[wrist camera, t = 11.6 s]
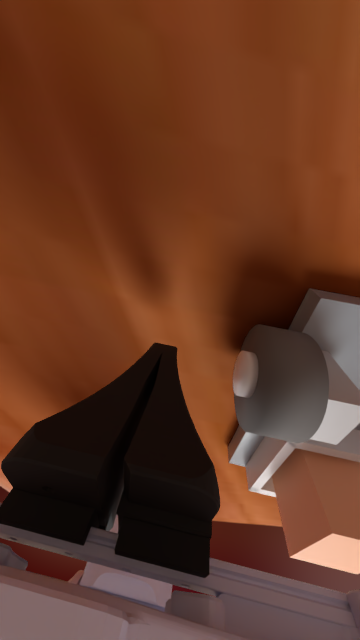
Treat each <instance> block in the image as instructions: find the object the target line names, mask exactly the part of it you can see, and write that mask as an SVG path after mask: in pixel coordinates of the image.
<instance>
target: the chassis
mask: <svg viewBox="0 0 360 640" xmlns="http://www.w3.org/2000/svg"><path fill="white" fill-rule="evenodd" d="M288 330H291V331H297V332H302V333H306V334H308V335H310V336H311V337H312V338H313V339H314V340H315V341H316V342H317V343H318V345H319V346H320V348H321V350H322V352H323V354H324V357H325V360H326V364H327V368H328V375H329V398H328V404H327V409H326V413H325V416H324V418H323V421H322V423H321V425H320V427H319V429H318V430H317V432H316V433H315V434H314V435H313V436H312V437H311V438H310V439H309V440H307V441H305V442H302V443H293V442H288V441H284V440H279V439H275V438H270V437H266V436H261V435H257V434H253V433H248V432H245V431H244V430H243V429H242V428H241V426H240V425H239V426H238V428H237V430H236V432H235V434H234V436H233V438H232V440H231V442H230V444H229V446H228V458H229V463H232V464H236V465H240V466H245V467H246V473H247V481H248V489H249V491H252V492H257V493H261V494H265V495H269V496H273V497H276V494H275V489H274V485H273V480H272V475H273V474H274V473H275V472H276V470H277V469H278V468H279V467H280V466H281V464H282V463H283V462H284V461H285V460H286V459H287V457H288V456H289V455H290V454H291V453H292V452H293V450H294V449H295V448H298V449H303V450H307V451H311V452H316V453H320V454H325V455H329V456H334V457H338V458H343V459H347V460H351V461H356V462H360V298H359V297H354V296H348V295H343V294H337V293H332V292H326V291H321V290H316V289H310V288H309V290H308V292H307V294H306V296H305V298H304V299H303V301H302V303H301V305H300V307H299V309H298V311H297V313H296V315H295V317H294V319H293V321H292V323H291V325H290V327H289V329H288Z"/></svg>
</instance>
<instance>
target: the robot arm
mask: <svg viewBox="0 0 360 640" xmlns="http://www.w3.org/2000/svg"><path fill="white" fill-rule="evenodd" d="M1 469H2V471H3V473H4V475H5V476H6V478H7V479H8V481H9V482H10V483H11V485H12V486H13V489H12V490H11V492H10V493H9V494H8V496H7V497H6V499H5V500H4V501H3V503H0V538H3V539H7V540H10V541H14V542H18V543H21V544H25V545H29V546H32V547H36V548H40V549H43V550H47V551H51V552H55V553H59V554H62V555H66V556H69V557H73V558H77V559H80V560H84V561H88V562H87V564H86V567H85V570H84V571H82V570H80V571H78V572H77V573H76V574H75V576H74V577H73V578H71V579H70V580H69V581H68V582H66V581H63V580H59V579H55V578H52V577H48V576H44V575H40V574H37V573H33V572H29V571H25V569H26V567H27V565H28V563H27V561H26V560H24V559H23V558H21V557H19V556H18V555H16V554H15V553H14V552H13V551H12V550H11V547H10V546H7V545H5V544H2V543H0V640H360V589H357V590H351V591H349V592H348V593H347V594H346V593H342V592H338V591H335V590H331V589H327V588H323V587H319V586H316V585H312V584H308V583H304V582H300V581H297V580H293V579H289V578H285V577H281V576H277V575H274V574H270V573H266V572H262V571H259V570H254V569H251V568H247V567H243V566H239V565H235V564H232V563H228V562H224V561H220V560H217V559H213V558H210V556H209V555H210V538H211V535H212V519H213V518H214V516H215V515H216V514H217V512H218V511H219V508H220V496H219V488H218V482H217V477H216V473H215V469H214V465H213V463H212V461H211V459H210V457H209V456H208V454H207V452H206V450H205V448H204V446H203V444H202V442H201V440H200V438H199V435H198V433H197V431H196V429H195V426H194V424H193V421H192V419H191V417H190V414H189V411H188V409H187V406H186V403H185V399H184V396H183V393H182V389H181V385H180V380H179V375H178V368H177V348H176V347H174V346H169V345H164V344H160V343H154V344H153V345H152V346H151V347H150V349H149V350H148V351H147V352H146V353H145V354H144V355H143V356H142V357H141V358H140V359H139V360H138V361H137V362H136V363H135V364H134V365H132V366H131V367H130V368H129V369H128V370H127V371H125V372H124V373H123V374H122V375H121V376H119V377H118V378H117V379H115V380H114V381H113V382H111V383H110V384H108V385H107V386H105V387H104V388H102V389H101V390H99V391H98V392H96V393H95V394H93V395H91V396H90V397H88V398H86V399H84V400H82V401H81V402H79V403H77V404H75V405H73V406H71V407H69V408H68V409H66V410H64V411H61V412H59V413H57V414H55V415H53V416H51V417H48V418H46V419H44V420H42V421H40V422H37V423H35V424H34V426H33V427H32V428H31V429H30V430H29V431H28V432H27V433H26V434H25V435H24V436H23V437H22V438H21V439H20V440H19V442H18V443H17V444H16V445H15V446H14V448H13V449H12V450H11V451H10V452H9V454H8V455H7V456H6V457H5V459H4V460H3V461H2V464H1ZM172 584H173V585H176V586H180V587H184V588H188V589H191V590H195V591H198V592H202V593H206V594H210V595H213V596H216V597H213V596H209V595H204V594H197V593H190V592H183V591H174V592H173V593H172V595H171V592H172Z"/></svg>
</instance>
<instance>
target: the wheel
mask: <svg viewBox="0 0 360 640" xmlns="http://www.w3.org/2000/svg"><path fill="white" fill-rule="evenodd" d="M233 389H234V401H235V410H236V415H237V419H238V422H239V425H240V426H241V428H242V429H243V430H244V431H245V432H248V433H253V434H257V435H261V436H266V437H270V438H275V439H279V440H284V441H288V442H293V443H302V442H305V441H307V440H309V439H310V438H311V437H312V436H313V435H314V434H315V433H316V432H317V430H318V429H319V427H320V425H321V423H322V421H323V418H324V416H325V413H326V409H327V404H328V398H329V375H328V368H327V364H326V360H325V357H324V354H323V352H322V350H321V348H320V346H319V345H318V343H317V342H316V341H315V340H314V339H313V338H312V337H311V336H310V335H308V334H306V333H302V332H297V331H291V330H286V329H281V328H276V327H271V326H266V325H261V324H258V325H255V326H254V327H253V328H252V329H251V330H250V331H249V332H248V334H247V336H246V338H245V340H244V342H243V345H242V347H241V351H240V353H239V355H238V357H237V359H236V362H235V367H234V373H233Z"/></svg>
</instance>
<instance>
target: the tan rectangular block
mask: <svg viewBox="0 0 360 640" xmlns="http://www.w3.org/2000/svg"><path fill="white" fill-rule="evenodd" d="M272 480H273V485H274V489H275V494H276V498H277V503H278V507H279V512H280V516H281V521H282V525H283V530H284V534H285V539H286V543H287V548H288V552H289V557H291V558H295V559H299V560H303V561H307V562H311V563H315V564H319V565H323V566H326V567H330V568H334V569H338V570H342V571H346V572H350V573H354V574H359V573H360V462H356V461H351V460H347V459H343V458H338V457H334V456H329V455H325V454H320V453H316V452H311V451H307V450H303V449H298V448H295V449H294V450H293V452H292V453H291V454H290V455H289V456H288V457H287V459H286V460H285V461H284V462H283V463H282V464H281V466H280V467H279V468H278V469H277V470H276V472H275V473H274V474H273V475H272Z"/></svg>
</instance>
